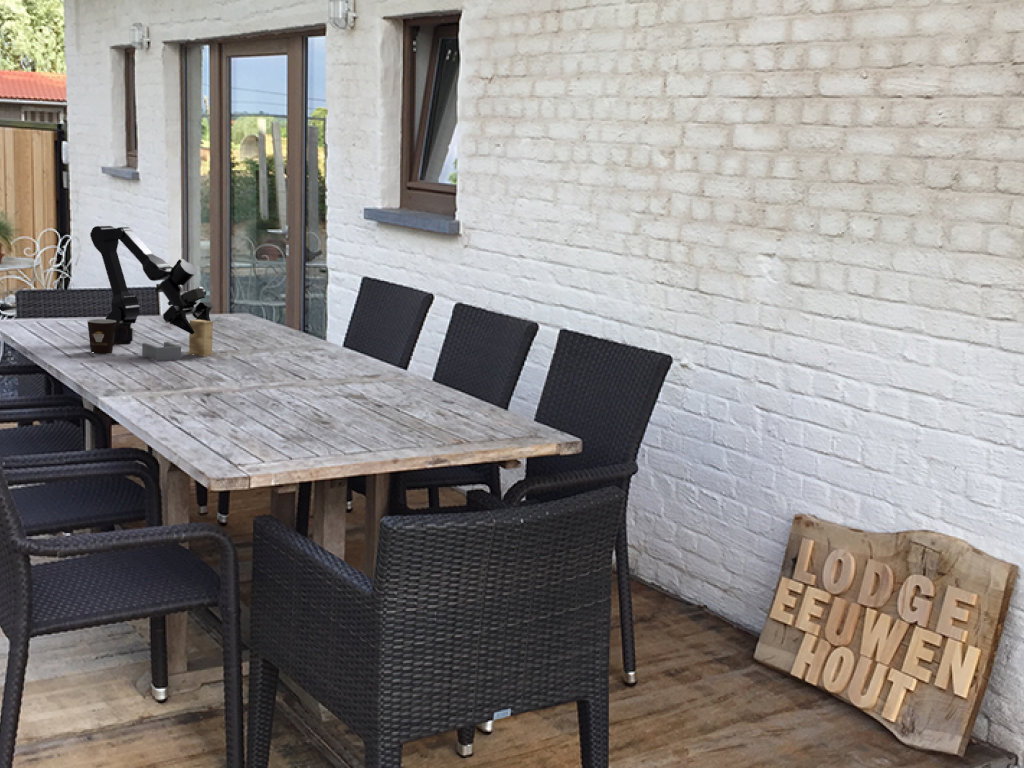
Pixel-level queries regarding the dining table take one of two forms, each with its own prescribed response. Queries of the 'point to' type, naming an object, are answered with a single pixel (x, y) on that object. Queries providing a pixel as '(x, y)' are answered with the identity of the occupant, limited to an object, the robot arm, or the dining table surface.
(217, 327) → the dining table surface
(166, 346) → the end cap
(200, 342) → the block
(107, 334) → the coffee mug
